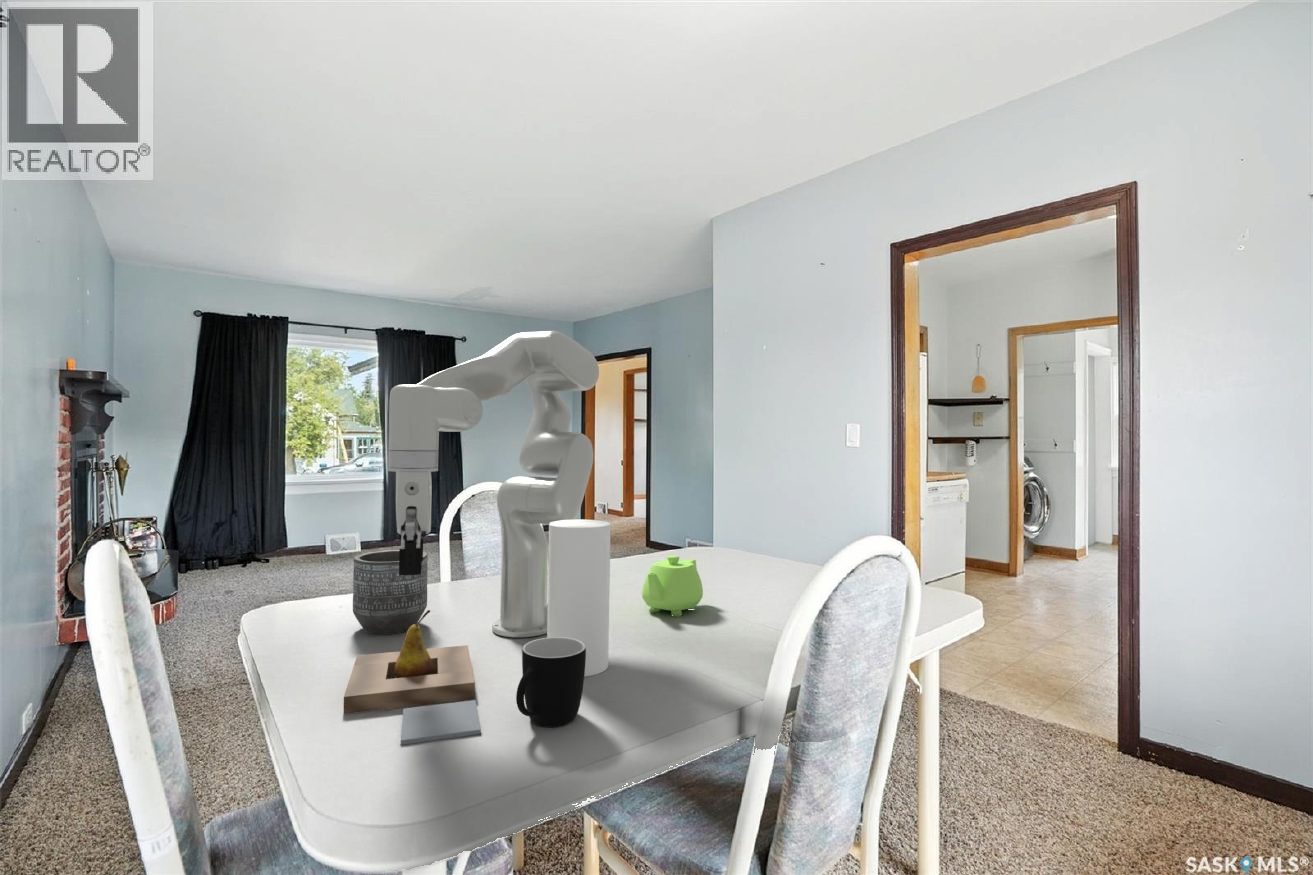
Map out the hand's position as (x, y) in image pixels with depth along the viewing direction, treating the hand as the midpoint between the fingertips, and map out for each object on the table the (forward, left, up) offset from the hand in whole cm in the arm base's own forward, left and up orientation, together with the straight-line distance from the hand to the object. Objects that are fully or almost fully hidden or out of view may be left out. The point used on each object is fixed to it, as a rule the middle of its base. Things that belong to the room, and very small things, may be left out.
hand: (411, 568), depth 102 cm
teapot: (-57, -29, -19) cm, 66 cm away
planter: (+4, -33, -19) cm, 38 cm away
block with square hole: (0, 0, -19) cm, 19 cm away
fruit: (-1, 0, -19) cm, 19 cm away
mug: (-18, +20, -19) cm, 33 cm away
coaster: (-5, +16, -19) cm, 25 cm away
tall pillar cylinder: (-28, 0, -19) cm, 33 cm away
